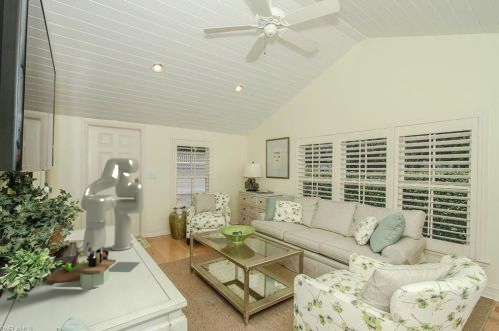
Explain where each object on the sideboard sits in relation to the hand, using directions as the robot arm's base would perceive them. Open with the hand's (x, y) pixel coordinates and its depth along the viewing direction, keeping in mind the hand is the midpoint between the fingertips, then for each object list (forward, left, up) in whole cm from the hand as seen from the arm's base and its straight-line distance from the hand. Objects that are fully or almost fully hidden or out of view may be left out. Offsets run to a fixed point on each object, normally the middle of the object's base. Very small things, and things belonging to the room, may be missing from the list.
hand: (95, 264), depth 111 cm
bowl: (0, 0, -9) cm, 9 cm away
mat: (-16, +5, -9) cm, 19 cm away
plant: (-8, -15, -9) cm, 19 cm away
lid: (0, 0, -1) cm, 1 cm away
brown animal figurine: (-22, -11, -9) cm, 26 cm away
